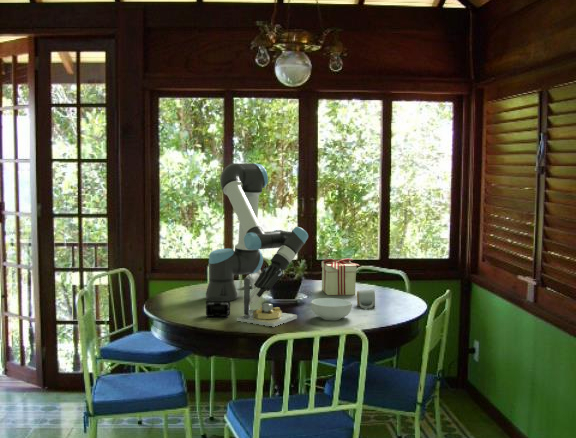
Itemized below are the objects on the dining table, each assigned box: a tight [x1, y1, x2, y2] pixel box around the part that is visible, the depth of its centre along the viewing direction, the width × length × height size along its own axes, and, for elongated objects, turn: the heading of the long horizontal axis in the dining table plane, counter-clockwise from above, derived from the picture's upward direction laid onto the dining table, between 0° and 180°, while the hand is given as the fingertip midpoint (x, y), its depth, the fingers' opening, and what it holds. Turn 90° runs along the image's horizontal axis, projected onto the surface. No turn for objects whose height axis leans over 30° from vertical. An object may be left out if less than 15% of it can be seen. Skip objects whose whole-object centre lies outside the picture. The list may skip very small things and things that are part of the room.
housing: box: [236, 302, 298, 328], centre depth 278 cm, size 18×18×6 cm
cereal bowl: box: [310, 297, 353, 321], centre depth 282 cm, size 17×17×7 cm
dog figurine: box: [245, 269, 262, 290], centre depth 353 cm, size 5×13×11 cm, turn 157°
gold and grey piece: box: [243, 277, 283, 319], centre depth 278 cm, size 16×11×15 cm
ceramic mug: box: [356, 289, 376, 310], centre depth 305 cm, size 11×8×8 cm
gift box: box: [321, 258, 361, 296], centre depth 337 cm, size 17×18×17 cm
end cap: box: [205, 300, 231, 319], centre depth 284 cm, size 10×7×7 cm
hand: (251, 301), depth 282 cm, fingers open, 2 cm apart
